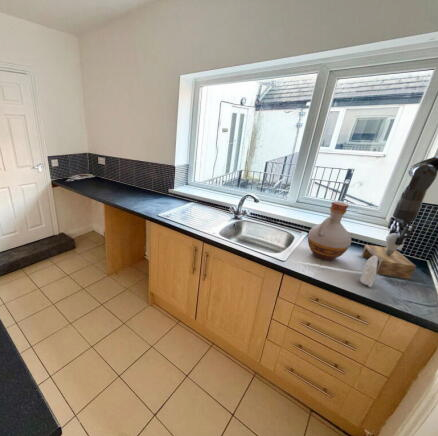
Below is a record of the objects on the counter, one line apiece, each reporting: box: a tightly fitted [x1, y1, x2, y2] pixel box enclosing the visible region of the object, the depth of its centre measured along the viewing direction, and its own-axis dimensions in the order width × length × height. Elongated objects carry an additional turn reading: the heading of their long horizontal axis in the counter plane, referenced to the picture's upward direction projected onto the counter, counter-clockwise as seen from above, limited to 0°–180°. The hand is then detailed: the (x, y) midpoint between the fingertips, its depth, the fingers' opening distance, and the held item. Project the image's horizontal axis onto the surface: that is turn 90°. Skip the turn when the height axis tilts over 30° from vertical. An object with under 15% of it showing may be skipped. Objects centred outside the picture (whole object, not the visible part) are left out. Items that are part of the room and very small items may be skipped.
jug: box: [307, 201, 352, 261], centre depth 122 cm, size 20×18×30 cm
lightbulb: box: [385, 232, 405, 254], centre depth 115 cm, size 6×6×11 cm
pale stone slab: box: [359, 256, 379, 288], centre depth 107 cm, size 12×4×11 cm, turn 139°
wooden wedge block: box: [361, 244, 417, 280], centre depth 119 cm, size 12×18×7 cm, turn 159°
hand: (393, 241), depth 115 cm, fingers closed on lightbulb, 6 cm apart
